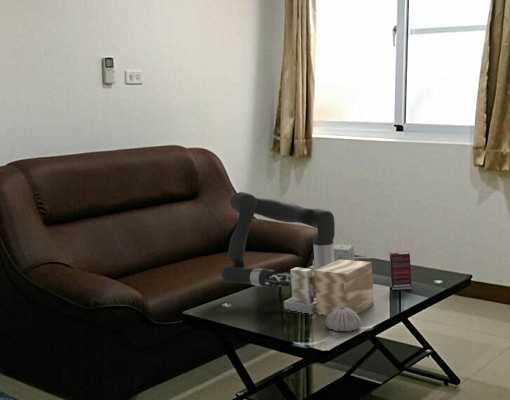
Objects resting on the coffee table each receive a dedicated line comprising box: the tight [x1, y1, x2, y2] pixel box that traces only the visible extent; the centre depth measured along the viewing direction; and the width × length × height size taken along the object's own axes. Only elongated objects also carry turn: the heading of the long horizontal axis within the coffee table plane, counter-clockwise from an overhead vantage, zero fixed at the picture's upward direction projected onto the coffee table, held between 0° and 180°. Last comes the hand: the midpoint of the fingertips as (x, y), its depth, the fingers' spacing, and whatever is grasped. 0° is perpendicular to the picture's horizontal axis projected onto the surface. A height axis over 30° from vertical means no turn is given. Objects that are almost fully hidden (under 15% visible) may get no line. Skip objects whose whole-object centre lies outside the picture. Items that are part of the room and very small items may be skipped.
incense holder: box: [333, 243, 356, 262], centre depth 394 cm, size 10×8×10 cm
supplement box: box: [389, 251, 413, 291], centre depth 347 cm, size 9×5×16 cm, turn 84°
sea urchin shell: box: [325, 307, 362, 332], centre depth 299 cm, size 13×14×8 cm
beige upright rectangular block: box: [290, 266, 314, 304], centre depth 326 cm, size 9×4×16 cm, turn 53°
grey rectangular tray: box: [283, 297, 317, 315], centre depth 327 cm, size 13×9×4 cm
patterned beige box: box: [312, 259, 375, 316], centre depth 323 cm, size 17×20×18 cm
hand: (294, 281), depth 328 cm, fingers open, 8 cm apart
